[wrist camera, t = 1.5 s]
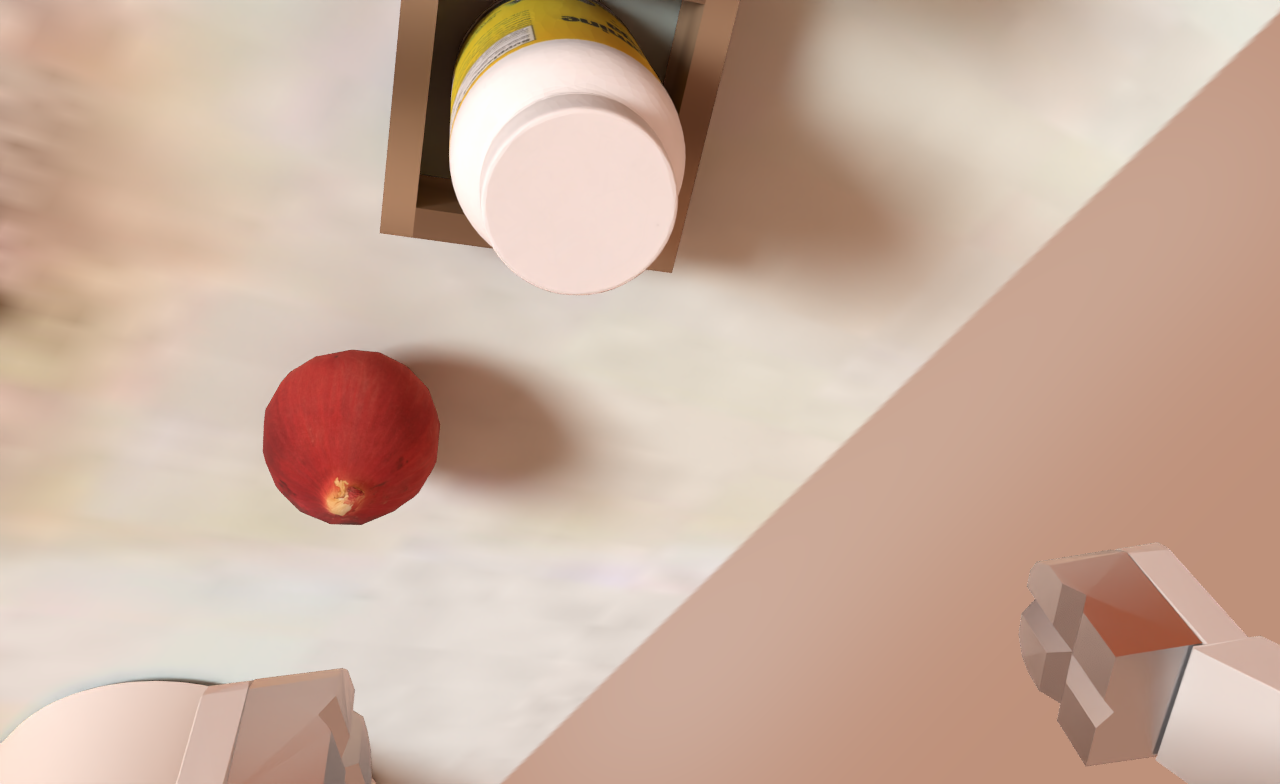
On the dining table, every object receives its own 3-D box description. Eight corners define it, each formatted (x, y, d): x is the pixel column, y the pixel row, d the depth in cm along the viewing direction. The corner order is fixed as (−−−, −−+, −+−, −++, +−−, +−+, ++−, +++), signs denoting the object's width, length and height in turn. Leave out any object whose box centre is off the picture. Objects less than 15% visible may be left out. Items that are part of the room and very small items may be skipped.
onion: (432, 450, 40) (426, 591, 33) (277, 437, 38) (239, 581, 32) (449, 320, 37) (447, 445, 30) (283, 300, 36) (242, 427, 29)
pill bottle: (679, 91, 34) (762, 217, 25) (541, 209, 35) (570, 370, 26) (557, -64, 31) (598, 14, 22) (410, 72, 32) (390, 200, 23)
